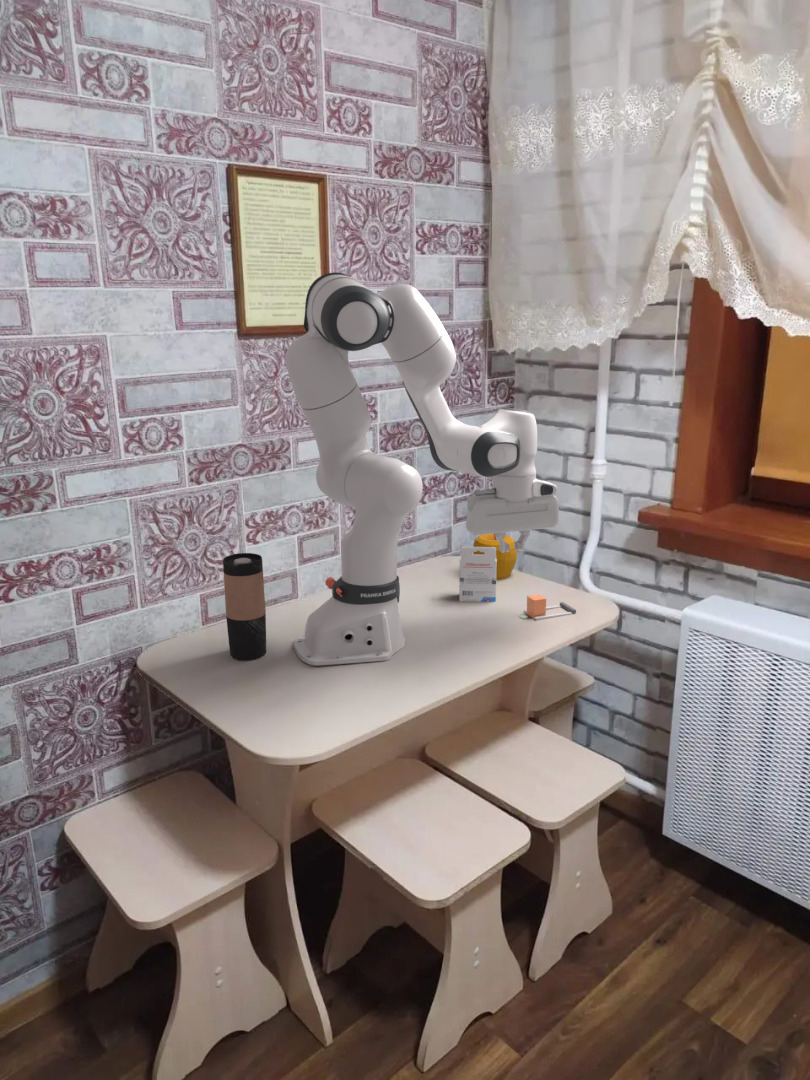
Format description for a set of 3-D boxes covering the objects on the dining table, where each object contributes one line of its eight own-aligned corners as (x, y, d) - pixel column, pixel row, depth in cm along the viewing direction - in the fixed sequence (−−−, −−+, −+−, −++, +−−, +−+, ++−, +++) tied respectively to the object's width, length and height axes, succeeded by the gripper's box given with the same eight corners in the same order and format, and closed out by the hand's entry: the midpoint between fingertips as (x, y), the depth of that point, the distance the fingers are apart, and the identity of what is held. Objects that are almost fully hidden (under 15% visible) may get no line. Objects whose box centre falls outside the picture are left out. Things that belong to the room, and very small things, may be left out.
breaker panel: (528, 630, 169) (528, 618, 168) (496, 607, 183) (496, 596, 182) (577, 623, 173) (578, 611, 173) (543, 601, 187) (543, 590, 186)
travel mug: (263, 644, 163) (258, 551, 157) (271, 658, 156) (266, 561, 150) (226, 649, 160) (219, 555, 155) (232, 664, 153) (225, 566, 148)
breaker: (533, 619, 171) (534, 600, 170) (526, 614, 174) (527, 596, 173) (545, 617, 172) (546, 598, 171) (538, 613, 175) (539, 594, 174)
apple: (524, 581, 201) (526, 532, 197) (497, 592, 193) (499, 541, 190) (490, 572, 208) (491, 525, 205) (463, 582, 201) (464, 533, 197)
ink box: (495, 601, 187) (497, 541, 183) (495, 609, 182) (497, 547, 178) (459, 600, 188) (460, 541, 184) (458, 607, 183) (459, 546, 179)
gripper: (474, 493, 157) (473, 560, 161) (564, 486, 164) (561, 550, 167) (461, 487, 163) (460, 552, 166) (548, 480, 169) (545, 542, 173)
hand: (511, 551), depth 167 cm, fingers closed
